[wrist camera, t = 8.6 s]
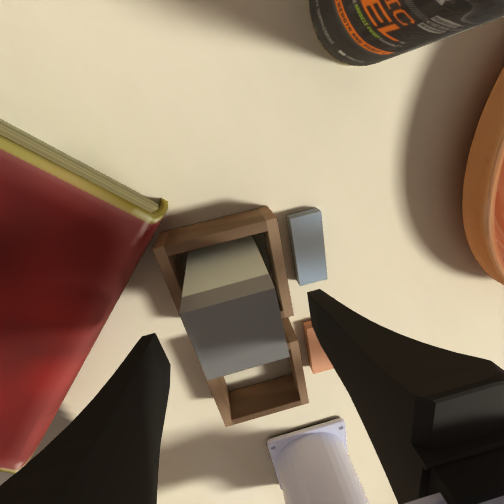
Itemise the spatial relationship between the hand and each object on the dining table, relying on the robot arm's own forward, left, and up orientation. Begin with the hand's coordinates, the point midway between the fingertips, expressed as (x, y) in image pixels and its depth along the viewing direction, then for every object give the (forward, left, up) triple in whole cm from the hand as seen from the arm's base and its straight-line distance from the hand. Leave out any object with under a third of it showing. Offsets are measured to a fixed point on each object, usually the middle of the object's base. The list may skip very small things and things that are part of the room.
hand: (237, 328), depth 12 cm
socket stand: (-4, -2, -6) cm, 8 cm away
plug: (0, 0, -6) cm, 6 cm away
